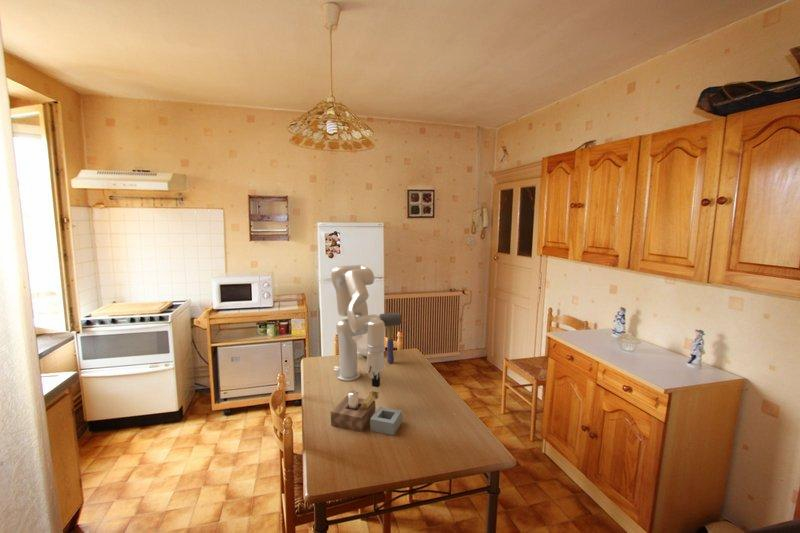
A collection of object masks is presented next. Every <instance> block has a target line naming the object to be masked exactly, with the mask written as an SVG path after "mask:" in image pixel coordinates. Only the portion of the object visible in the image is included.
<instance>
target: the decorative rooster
mask: <svg viewBox="0 0 800 533" xmlns="http://www.w3.org/2000/svg"><path fill="white" fill-rule="evenodd" d="M352 339H353V340H354V341H355V342H356V344H357V353H358V354H360V355H362V356H364V357H366V358H367V354H368V351H367V333H366V334H363V335H357V336H353V337H352Z"/></svg>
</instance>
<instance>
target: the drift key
mask: <svg viewBox="0 0 800 533" xmlns="http://www.w3.org/2000/svg"><path fill="white" fill-rule="evenodd" d="M379 394H380V393H379V391H378V392H377V391H373V390H371V391H370V392H369V395H368V396H367V397H366V398H364V399H365V400H364V402H363V403H362V404H363V408H364V409H367V408H368V407H369V406H370V405H371V404H372V403H373V401H376V400H377V399H380V398H379Z"/></svg>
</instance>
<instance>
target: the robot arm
mask: <svg viewBox="0 0 800 533" xmlns="http://www.w3.org/2000/svg"><path fill="white" fill-rule="evenodd" d="M330 277H331V283H332V285H333V287H334V290H335V295H336V296H335V297H336V308H337V313H338V315H339V316H340V317H347V318H345V319H340V320H339V321H338V322H337V323H336V328H335V329H336V332H337V334H336V335H337V338H338V339H337V340H338V341H337V342H338V358H339V359H338V361H339V364H338V365H339V366H338V365H334V366H333V372H337V374H336V378H337V379H338V380H340V381H343V382H345V381H346V382H347V381H348V382H349V381H355V380H357V379H359V378H360V377H361V371H359V370H358V351H357V344H356V342H355V341H354V340H353V339H352V337H353V336H357V335H363V334H366V333H367V351H368V354H367V357H366V364H365V365H366V367H365V373H366V375H368V374H369V379H371V386H372V387H375V388H380V386H381V382H380V381H381V371H382V370H383V369H384V368H385V334H386V333H385V331H386V330H385V327H386V326H385V325H384V322H383V321H382V320H381V319H380V317H379V315H378V314H369V308H368V304H367V300H368V298H369V296H370V295H369V292H368V289H367V286H371V285H373V284H374V282H375V275H374V272H373V270H372V269H371V268H369V267H368V266H366V265H363V264H353V265H342V266H341V265H340V266H337V267H334V268H333V269H332V270H331V273H330Z"/></svg>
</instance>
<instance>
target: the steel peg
mask: <svg viewBox="0 0 800 533" xmlns="http://www.w3.org/2000/svg"><path fill="white" fill-rule="evenodd" d="M347 396H349V409H350V410H355V411H357V410H358V398H359V391H358V390H350V391H349V392H348V394H347Z"/></svg>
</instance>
